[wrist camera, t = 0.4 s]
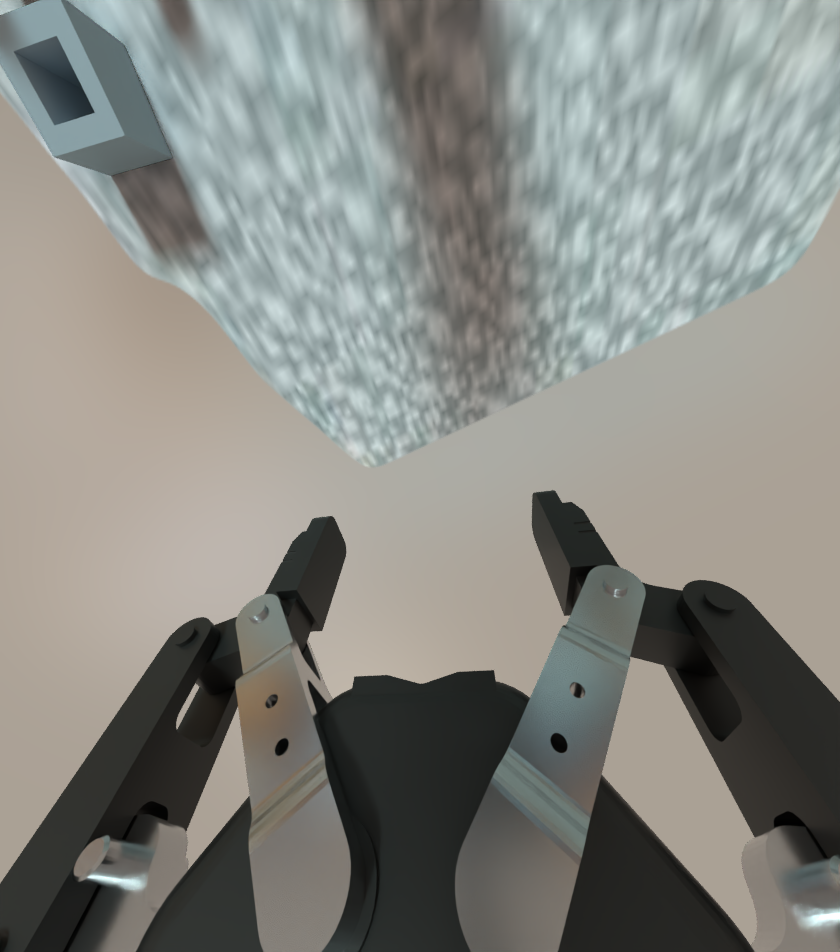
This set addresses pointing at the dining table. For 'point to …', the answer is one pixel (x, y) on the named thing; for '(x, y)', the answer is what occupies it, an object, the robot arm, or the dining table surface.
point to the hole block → (79, 88)
